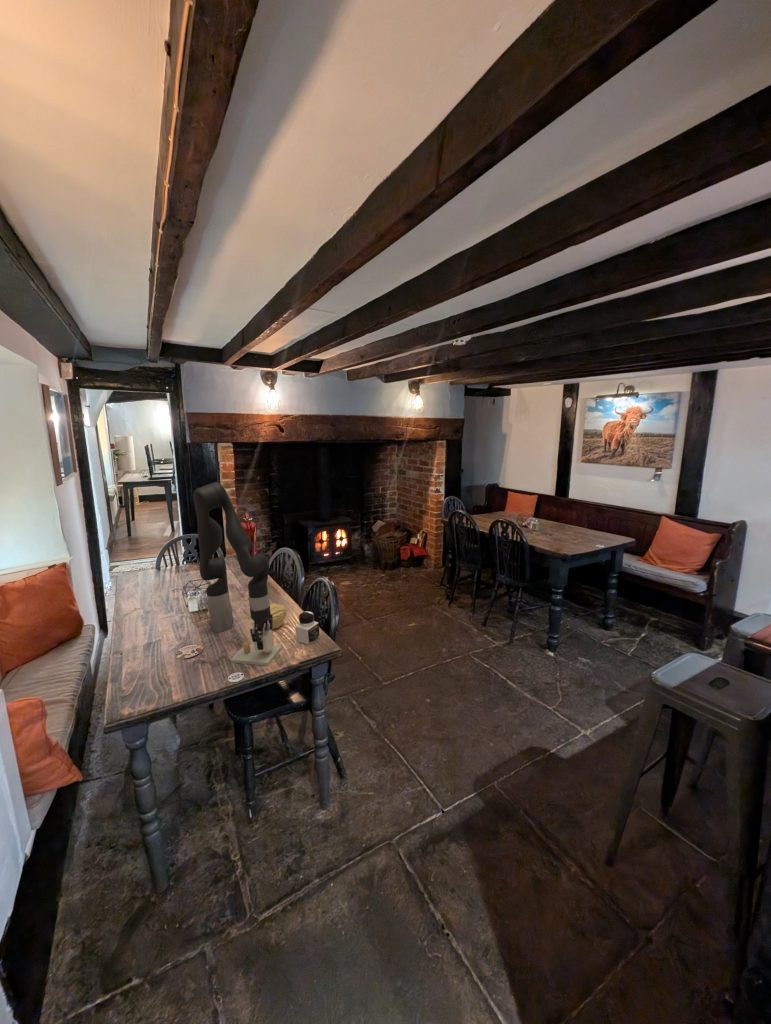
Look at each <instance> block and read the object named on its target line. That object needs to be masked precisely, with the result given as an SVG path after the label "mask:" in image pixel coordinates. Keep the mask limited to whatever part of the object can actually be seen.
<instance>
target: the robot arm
mask: <svg viewBox="0 0 771 1024" xmlns="http://www.w3.org/2000/svg"><path fill="white" fill-rule="evenodd" d="M192 497H193V503H194V509H195V514H196V515H195V516H196V520H197V521H196V522H197V540H198V548H199V550H198V551H199V575H200V578H201V579H202V580H203V581H205V582H206V581H212V580H216V581H215V582H213V583H212V584H210V585H208V587H206V590H205V591H206V599H207V606H208V612H209V613H208V614H209V619H210V620H209V621H210V627H211V632H213V633H224V632H226V631H229V630H230V629H232V628H233V627H234V616H233V608H232V607H233V606H232V604H231V600H230V591H229V584H228V574H227V573H228V572H227V564H226V560H225V558H224V557H223V556H222V557H221V556H219V557H215V558H214V557H213V556H214V555H215V554H216V552H217V551H218V550H219V549H220V547H221V545H222V544H223V528H222V527H221V525H220V524H219V522H217V521H216V520H215V519H213V518H212V517H211V516H210V512H211V510H214V509H216V508H218V507H221V508H222V510H223V512H224V517H225V535H226V539H227V541H228V543H229V544H230V546H231V547H232V549H233V551H234V552H235V555H236V558H237V562H238V565H239V568H240V571H241V573H242V574H244V575H245V576H246V577H248V578H251V580H250V581H249V582H248V584H247V589H248V604H249V613H250V619H251V620H253V622H254V624H253V628H250V631H249V632H250V636H251V641H252V642H253V643H254V642H257V648H258V650H263V641H262V639H263V638H262V637H263V635H264V630H268V631H272V630H271V629H272V628H273V615H272V614H271V611H270V604H271V603H270V602H271V601H270V596H269V589H268V578H269V571H270V563H269V560H268V558H267V556H266V555H264V554H262V553H258V554H255V555H252V554H251V552H250V551H252V549H253V548H254V543H253V541H252V539H250V537H249V535H248V533H247V531H245V529H244V527H243V525H242V523H241V521H240V519H239V517H238V514H237V511H236V510H235V507H234V505H233V503H232V501H231V499H230V496H229V494H228V492H227V491H226V488H225V487H224V485H222V484H221V483H220V482H217V481H215V482H211V483H208V484H206V485H203V486H200V487H198V488H196V489H194V491H193V496H192ZM251 555H252V556H251ZM212 557H213V558H212ZM269 623H270V624H269ZM258 632H261V633H258ZM259 635H260V638H259Z"/></svg>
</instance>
